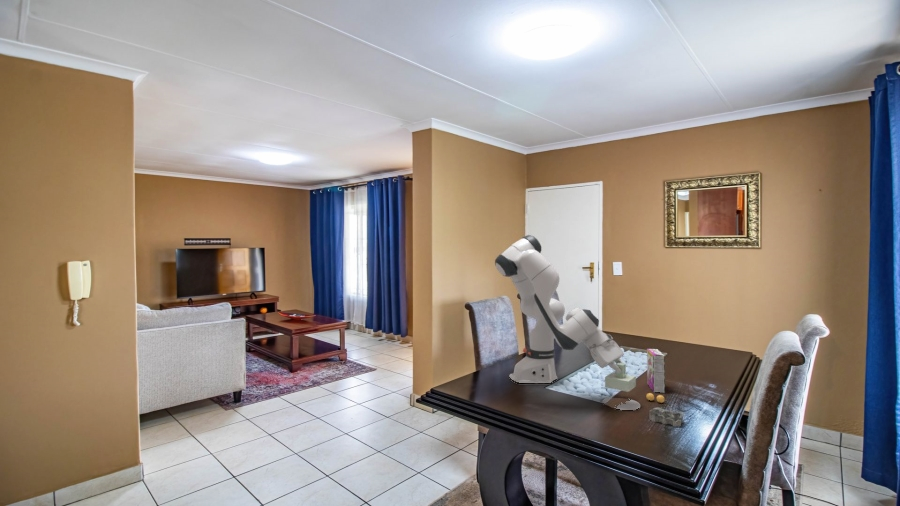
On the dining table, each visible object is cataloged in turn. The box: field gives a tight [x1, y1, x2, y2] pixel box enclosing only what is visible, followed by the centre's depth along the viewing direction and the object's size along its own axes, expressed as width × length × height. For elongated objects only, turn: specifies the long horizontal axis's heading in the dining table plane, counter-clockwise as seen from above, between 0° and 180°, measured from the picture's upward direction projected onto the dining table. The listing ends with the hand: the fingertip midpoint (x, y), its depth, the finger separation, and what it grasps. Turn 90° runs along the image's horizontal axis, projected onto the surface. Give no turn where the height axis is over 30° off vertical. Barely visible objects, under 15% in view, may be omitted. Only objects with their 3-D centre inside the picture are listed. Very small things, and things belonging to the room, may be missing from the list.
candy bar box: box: [646, 348, 666, 394], centre depth 191 cm, size 11×5×16 cm, turn 168°
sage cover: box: [604, 362, 637, 393], centre depth 173 cm, size 9×9×9 cm
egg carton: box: [648, 406, 684, 427], centre depth 156 cm, size 11×8×4 cm
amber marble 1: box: [646, 392, 655, 402], centre depth 177 cm, size 3×3×3 cm
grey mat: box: [602, 396, 641, 411], centre depth 173 cm, size 14×14×1 cm
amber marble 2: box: [656, 394, 666, 404], centre depth 174 cm, size 3×3×3 cm
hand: (622, 370), depth 172 cm, fingers closed on sage cover, 3 cm apart
